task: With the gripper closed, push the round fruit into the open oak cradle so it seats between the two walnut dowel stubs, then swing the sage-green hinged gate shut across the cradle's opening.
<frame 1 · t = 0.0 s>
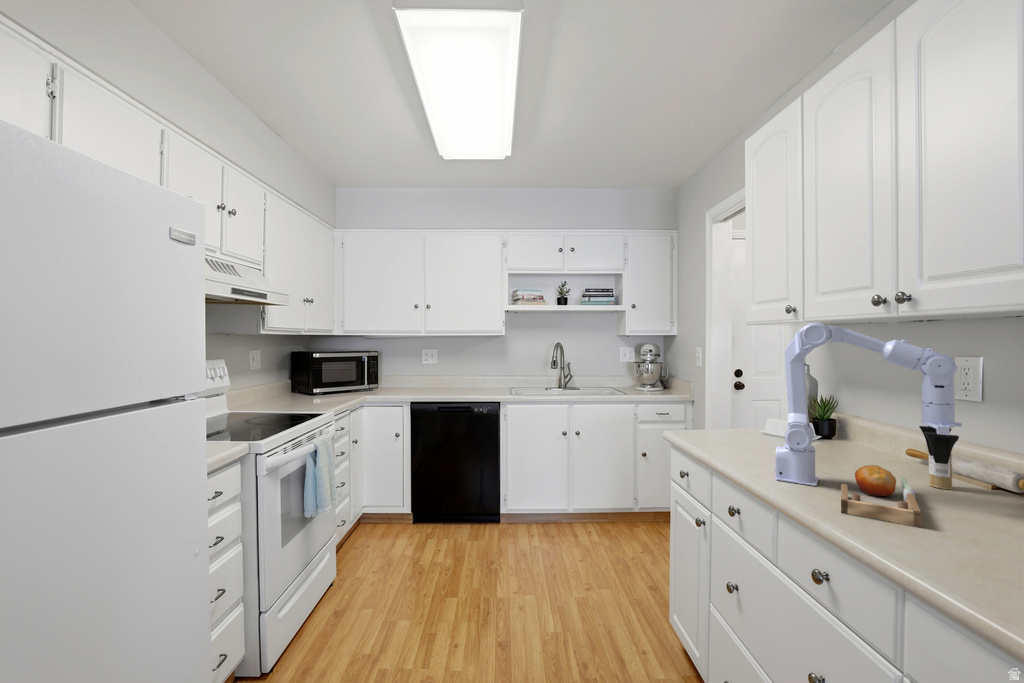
hand: (938, 459, 105), 10 cm above the worktop, tool pointing down, fingers open, 7 cm apart
sprinkles bottle: (940, 487, 115), on the worktop
fruit: (874, 494, 110), on the worktop
gate: (906, 490, 107), point 2 cm above the worktop, hinge at 0.0°
cradle: (877, 510, 100), on the worktop
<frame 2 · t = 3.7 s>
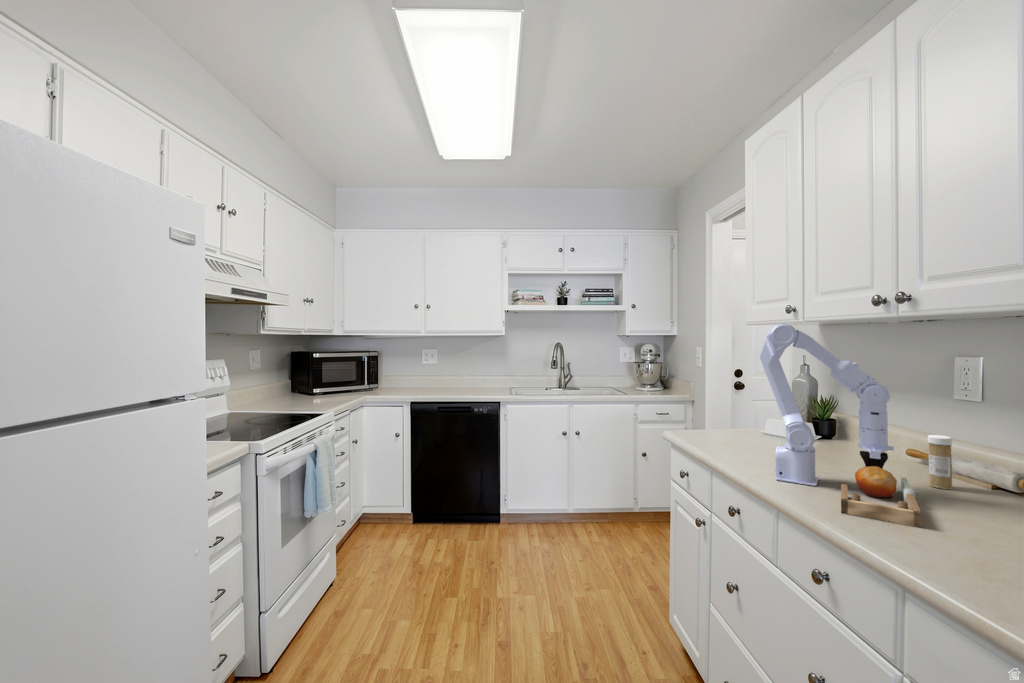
hand: (873, 480, 114), 2 cm above the worktop, tool pointing down, fingers closed
fruit: (875, 496, 110), on the worktop, touching gripper
everything else where it was.
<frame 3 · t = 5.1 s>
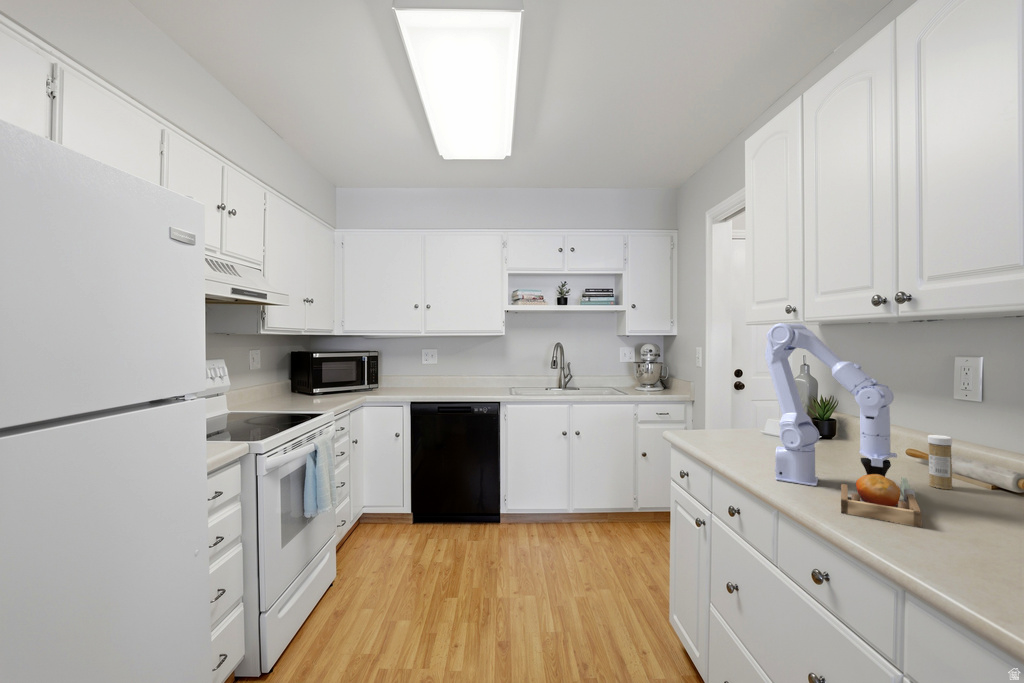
hand: (875, 489, 107), 2 cm above the worktop, tool pointing down, fingers closed
fruit: (877, 506, 103), on the worktop, touching gripper
everything else where it was.
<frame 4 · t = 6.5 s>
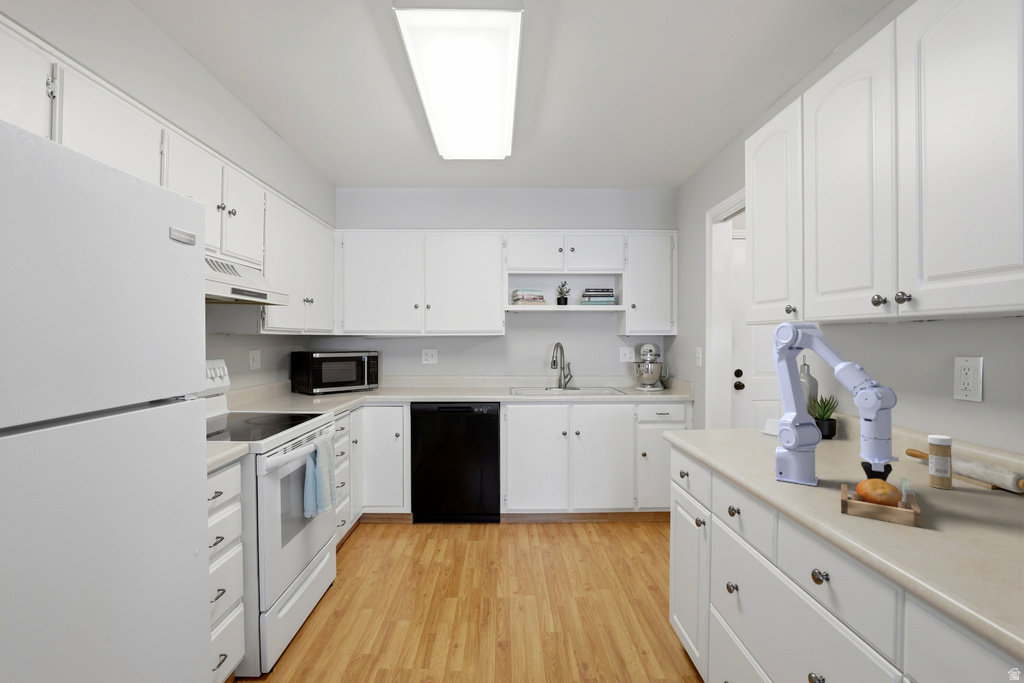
hand: (876, 494, 104), 2 cm above the worktop, tool pointing down, fingers closed
fruit: (878, 511, 100), on the worktop, touching gripper
everything else where it was.
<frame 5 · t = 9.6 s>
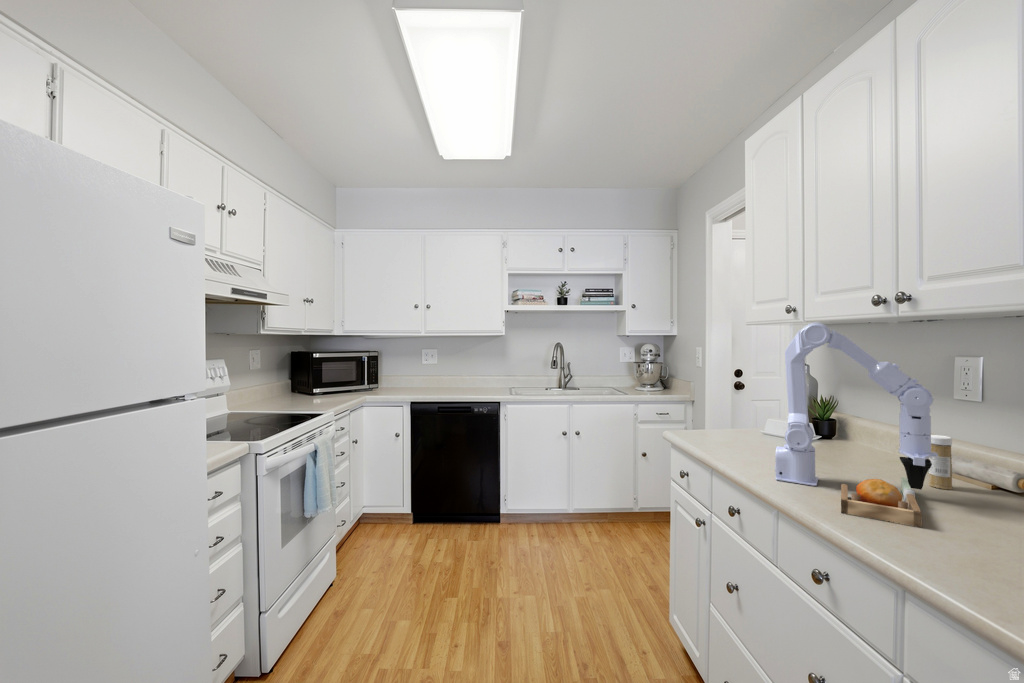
hand: (915, 488, 107), 2 cm above the worktop, tool pointing down, fingers closed, pressing on gate
fruit: (878, 512, 100), on the worktop
gate: (906, 490, 107), point 2 cm above the worktop, hinge at 0.0°, touching gripper
everything else where it was.
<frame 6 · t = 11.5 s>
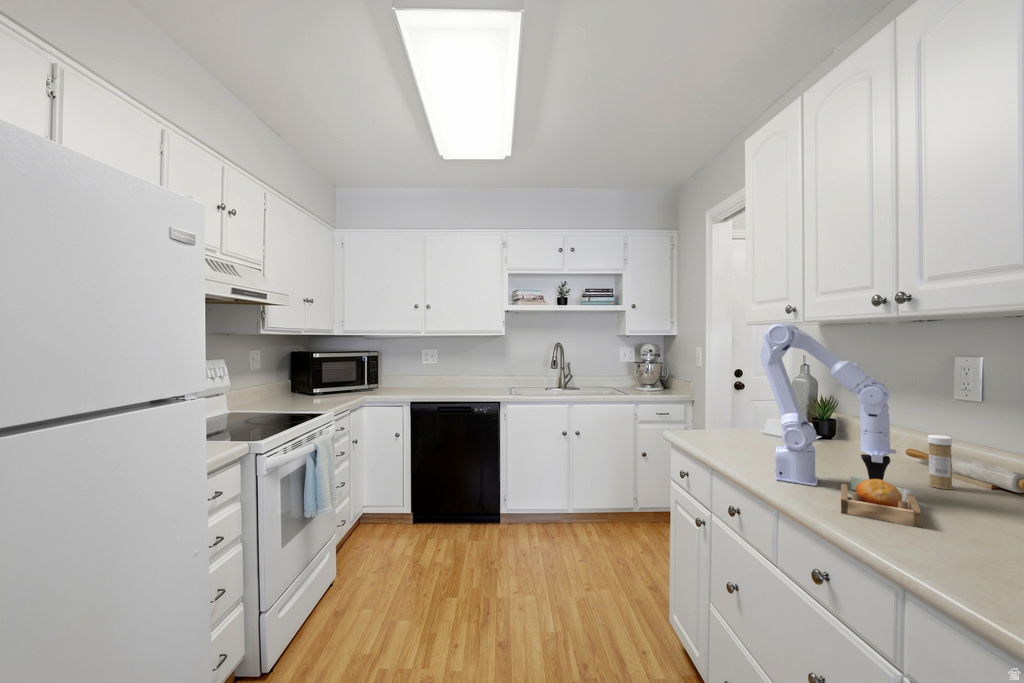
hand: (876, 484, 110), 3 cm above the worktop, tool pointing down, fingers closed, pressing on gate
gate: (881, 490, 108), point 2 cm above the worktop, hinge at 62.2°, touching gripper
everything else where it was.
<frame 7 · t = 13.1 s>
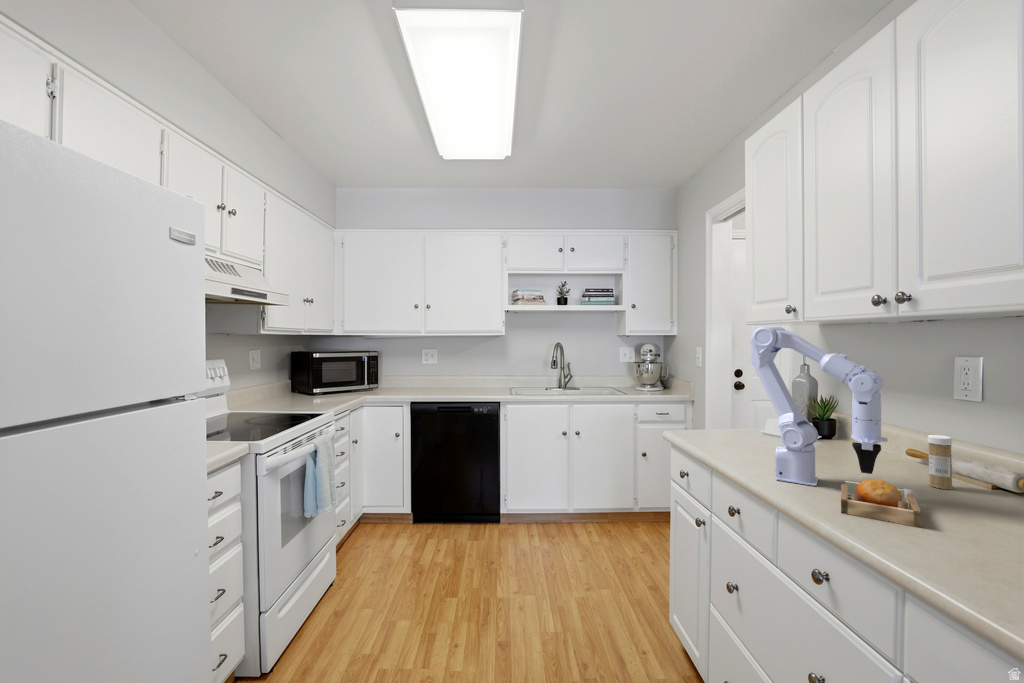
hand: (866, 472, 110), 6 cm above the worktop, tool pointing down, fingers closed
gate: (878, 492, 106), point 2 cm above the worktop, hinge at 88.8°
everything else where it was.
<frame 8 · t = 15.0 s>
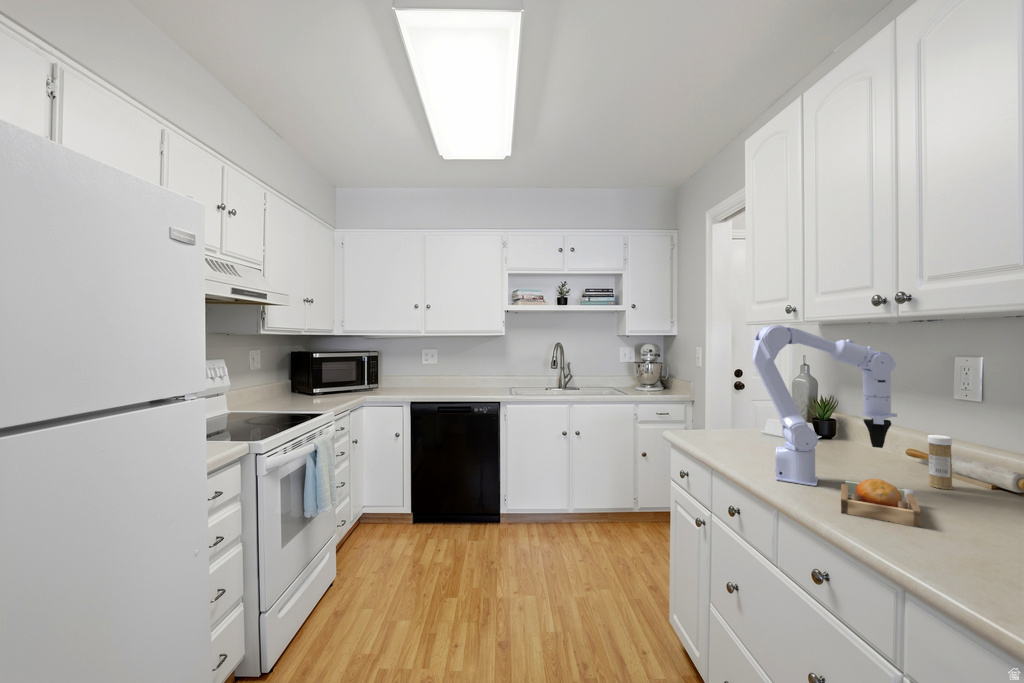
hand: (877, 447, 116), 10 cm above the worktop, tool pointing down, fingers closed
nothing on the worktop moved.
at the end: fruit inside the target area on the cradle (1.2 cm from its centre), point 0.0 cm above the cradle's base; gate at +89° (first picture: +0°); fruit touching worktop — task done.
